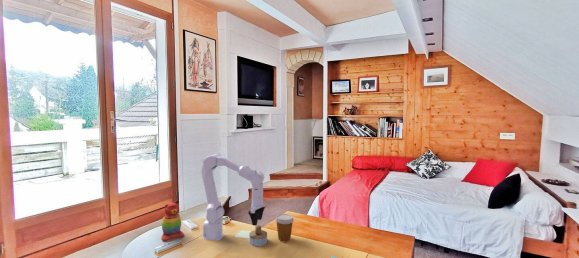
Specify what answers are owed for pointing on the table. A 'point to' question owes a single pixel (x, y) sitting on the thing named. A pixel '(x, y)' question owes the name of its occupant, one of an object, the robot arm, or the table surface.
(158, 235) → the table surface
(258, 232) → the lid
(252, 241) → the bowl
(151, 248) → the table surface
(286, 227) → the disposable coffee cup
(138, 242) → the table surface
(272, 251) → the table surface
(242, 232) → the mat
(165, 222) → the stacking bear
